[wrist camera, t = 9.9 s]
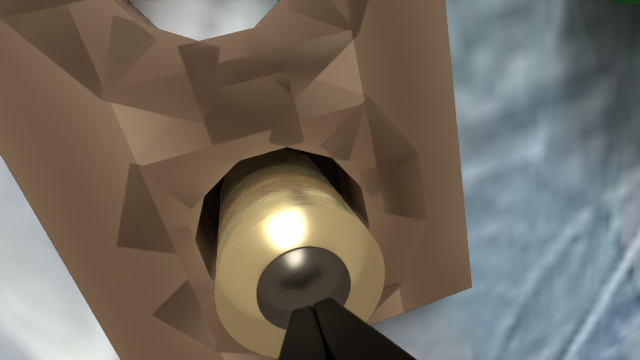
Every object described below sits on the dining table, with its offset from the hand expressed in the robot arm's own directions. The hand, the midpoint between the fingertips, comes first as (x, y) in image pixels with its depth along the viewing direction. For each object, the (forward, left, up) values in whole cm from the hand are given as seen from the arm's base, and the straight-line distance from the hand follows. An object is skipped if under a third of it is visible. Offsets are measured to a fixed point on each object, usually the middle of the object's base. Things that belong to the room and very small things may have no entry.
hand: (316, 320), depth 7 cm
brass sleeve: (0, 0, -7) cm, 7 cm away
